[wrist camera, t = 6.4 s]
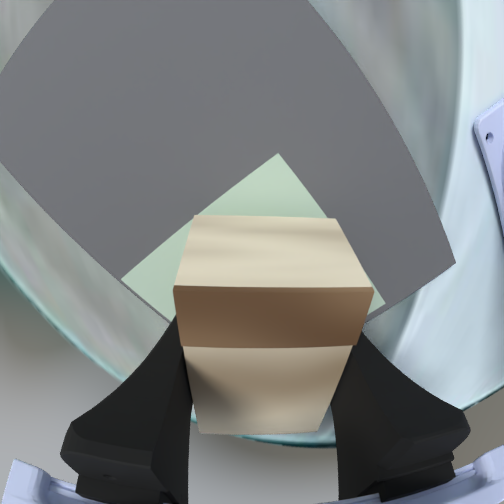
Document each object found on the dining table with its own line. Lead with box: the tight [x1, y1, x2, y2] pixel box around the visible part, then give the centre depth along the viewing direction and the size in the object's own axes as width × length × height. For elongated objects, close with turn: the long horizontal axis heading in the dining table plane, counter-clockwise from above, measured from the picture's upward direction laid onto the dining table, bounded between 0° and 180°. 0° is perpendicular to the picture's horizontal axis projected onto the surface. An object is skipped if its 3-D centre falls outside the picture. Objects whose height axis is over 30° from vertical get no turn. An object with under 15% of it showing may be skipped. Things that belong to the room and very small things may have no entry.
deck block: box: [173, 215, 375, 435], centre depth 12 cm, size 8×5×4 cm, turn 178°
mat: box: [0, 0, 456, 323], centre depth 12 cm, size 20×13×1 cm, turn 38°
